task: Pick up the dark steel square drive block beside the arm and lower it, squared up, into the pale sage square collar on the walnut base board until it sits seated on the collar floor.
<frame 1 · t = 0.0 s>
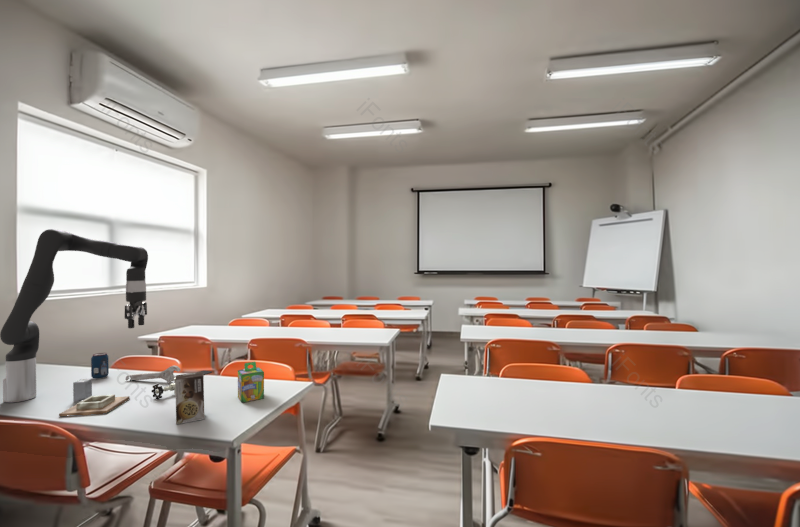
hand: (136, 326, 168), 29 cm above the table, tool pointing down, fingers open, 8 cm apart
chalk box: (250, 398, 158), on the table
valve: (170, 395, 163), on the table
printed cardboard box: (190, 419, 136), on the table
drive block: (82, 399, 159), on the table
wrench: (152, 382, 183), on the table
collar base: (96, 407, 149), on the table
soda can: (100, 377, 191), on the table
phone: (195, 376, 192), on the table
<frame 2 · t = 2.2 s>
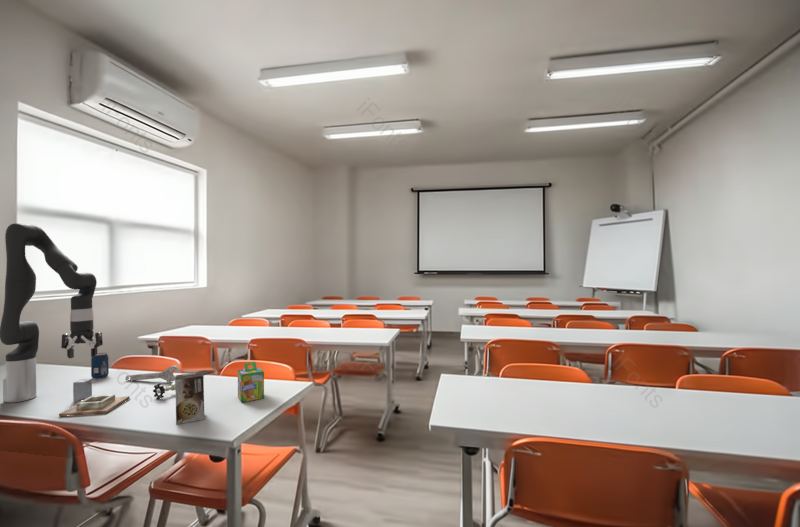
hand: (82, 357, 159), 18 cm above the table, tool pointing down, fingers open, 8 cm apart
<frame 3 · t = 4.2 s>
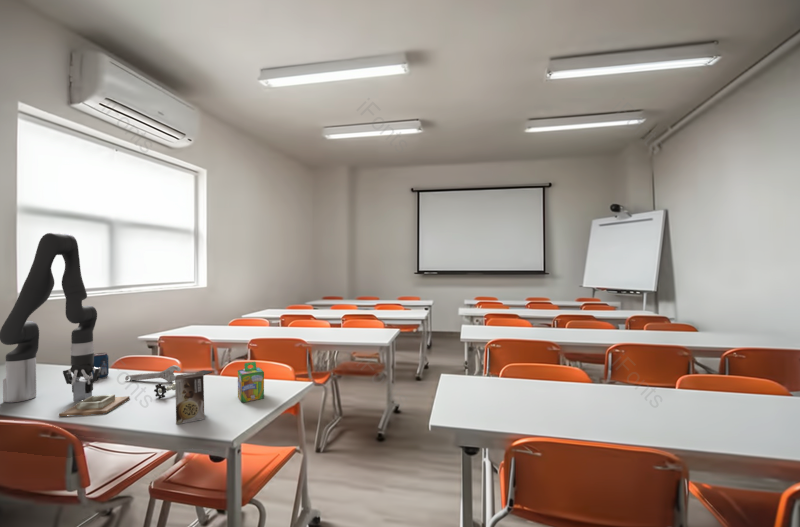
hand: (82, 392, 159), 3 cm above the table, tool pointing down, fingers closed on drive block, 4 cm apart
drive block: (82, 399, 159), on the table, touching gripper
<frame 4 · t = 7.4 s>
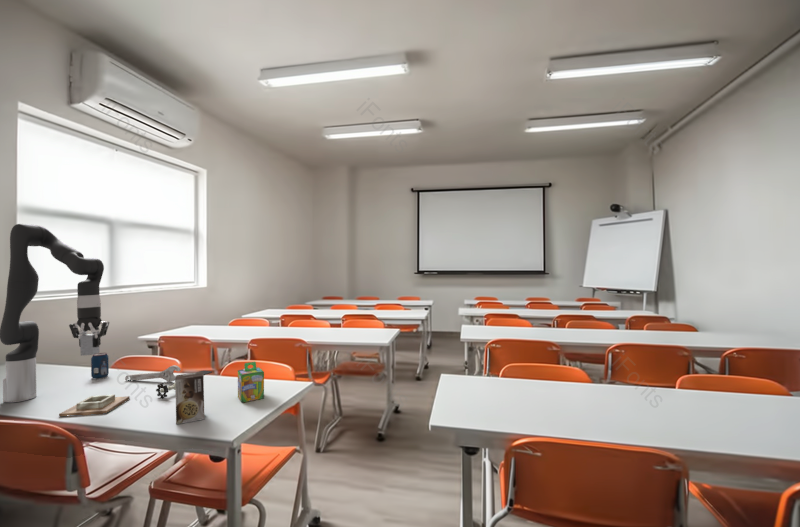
hand: (90, 347, 154), 23 cm above the table, tool pointing down, fingers closed on drive block, 4 cm apart
drive block: (90, 354, 154), point 20 cm above the table, touching gripper
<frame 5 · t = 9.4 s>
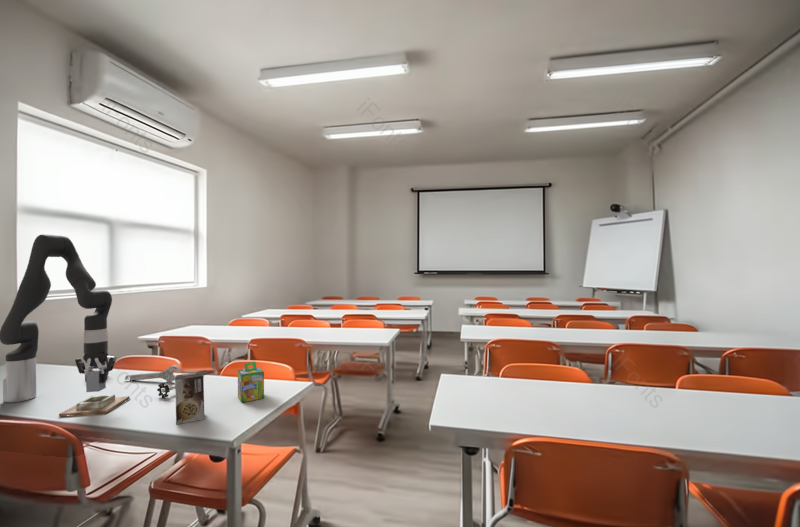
hand: (96, 382, 149), 10 cm above the table, tool pointing down, fingers closed on drive block, 4 cm apart
drive block: (96, 389, 149), point 7 cm above the table, touching gripper
when the fingers open (6 cm above the table, at t = 10.6 s): drive block drops 1 cm, resting on collar base.
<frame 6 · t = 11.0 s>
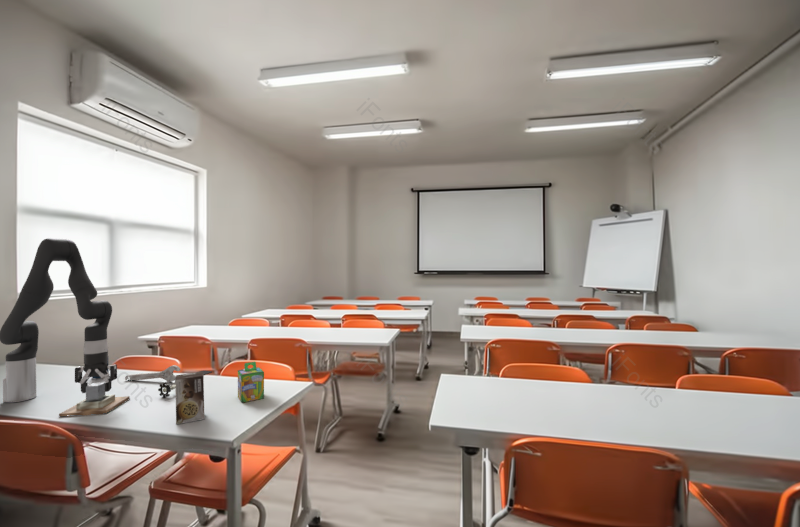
hand: (96, 391, 149), 6 cm above the table, tool pointing down, fingers open, 7 cm apart
drive block: (95, 404, 149), point 1 cm above the table, touching collar base
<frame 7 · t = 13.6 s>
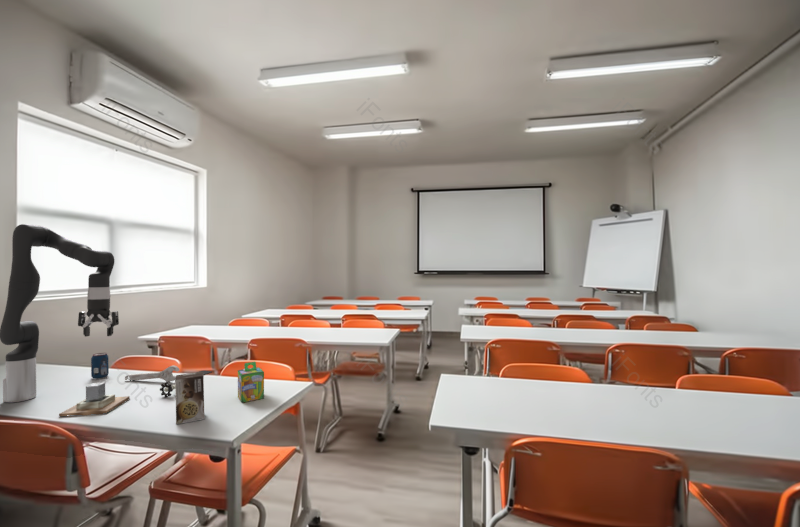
hand: (98, 336, 158), 27 cm above the table, tool pointing down, fingers open, 8 cm apart
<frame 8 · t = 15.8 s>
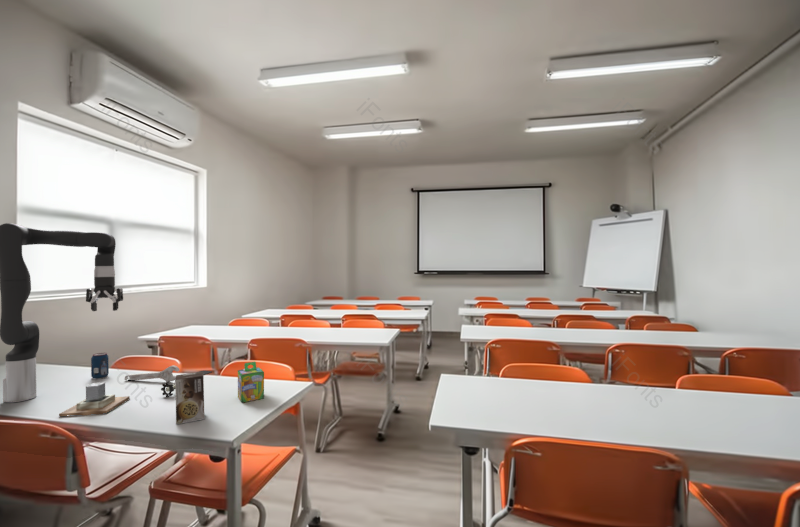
hand: (104, 310, 173), 36 cm above the table, tool pointing down, fingers open, 8 cm apart
at the end: drive block 0.3 cm off-centre on the collar base, point 1.2 cm above the collar base's base; drive block tilted 0°; the gripper is holding nothing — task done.
